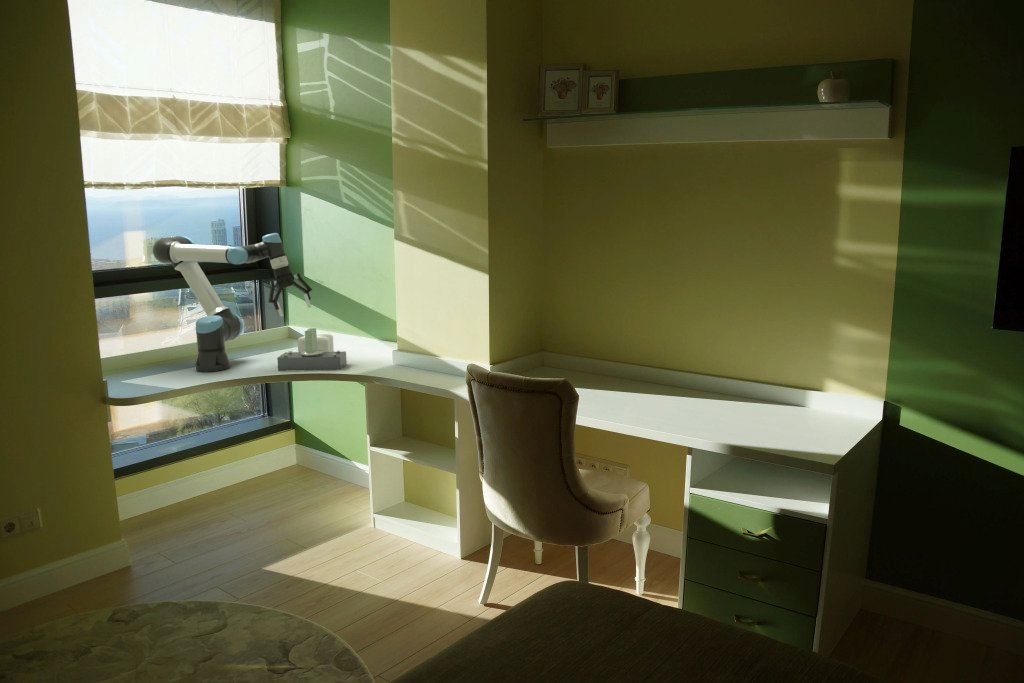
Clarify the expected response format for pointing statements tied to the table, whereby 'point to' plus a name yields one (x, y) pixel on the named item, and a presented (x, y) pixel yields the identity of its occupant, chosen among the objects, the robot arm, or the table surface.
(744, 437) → the table surface
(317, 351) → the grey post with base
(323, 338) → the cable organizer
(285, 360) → the block
